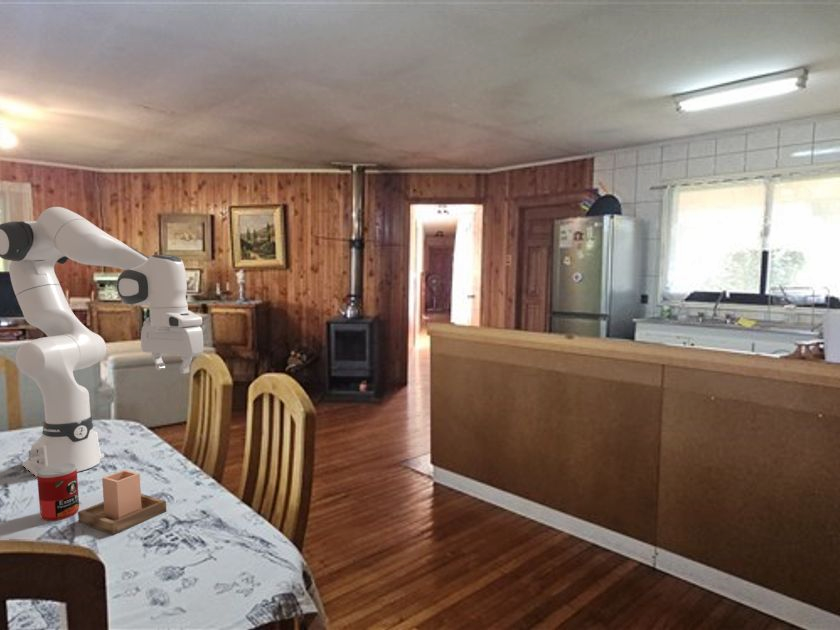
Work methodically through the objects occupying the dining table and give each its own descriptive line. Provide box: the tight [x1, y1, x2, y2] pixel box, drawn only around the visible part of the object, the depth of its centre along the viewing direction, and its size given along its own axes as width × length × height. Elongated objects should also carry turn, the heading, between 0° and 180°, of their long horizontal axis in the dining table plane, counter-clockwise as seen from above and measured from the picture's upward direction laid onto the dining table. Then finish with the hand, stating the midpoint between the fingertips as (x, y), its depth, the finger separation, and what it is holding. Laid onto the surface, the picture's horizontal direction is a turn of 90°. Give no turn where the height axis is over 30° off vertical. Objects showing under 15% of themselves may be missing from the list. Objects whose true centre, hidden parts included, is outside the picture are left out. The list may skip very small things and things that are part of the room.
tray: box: [77, 493, 167, 536], centre depth 125 cm, size 13×13×2 cm
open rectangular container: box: [101, 469, 142, 520], centre depth 125 cm, size 6×6×9 cm
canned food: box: [36, 463, 80, 522], centre depth 127 cm, size 8×8×11 cm
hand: (172, 371), depth 139 cm, fingers open, 8 cm apart
